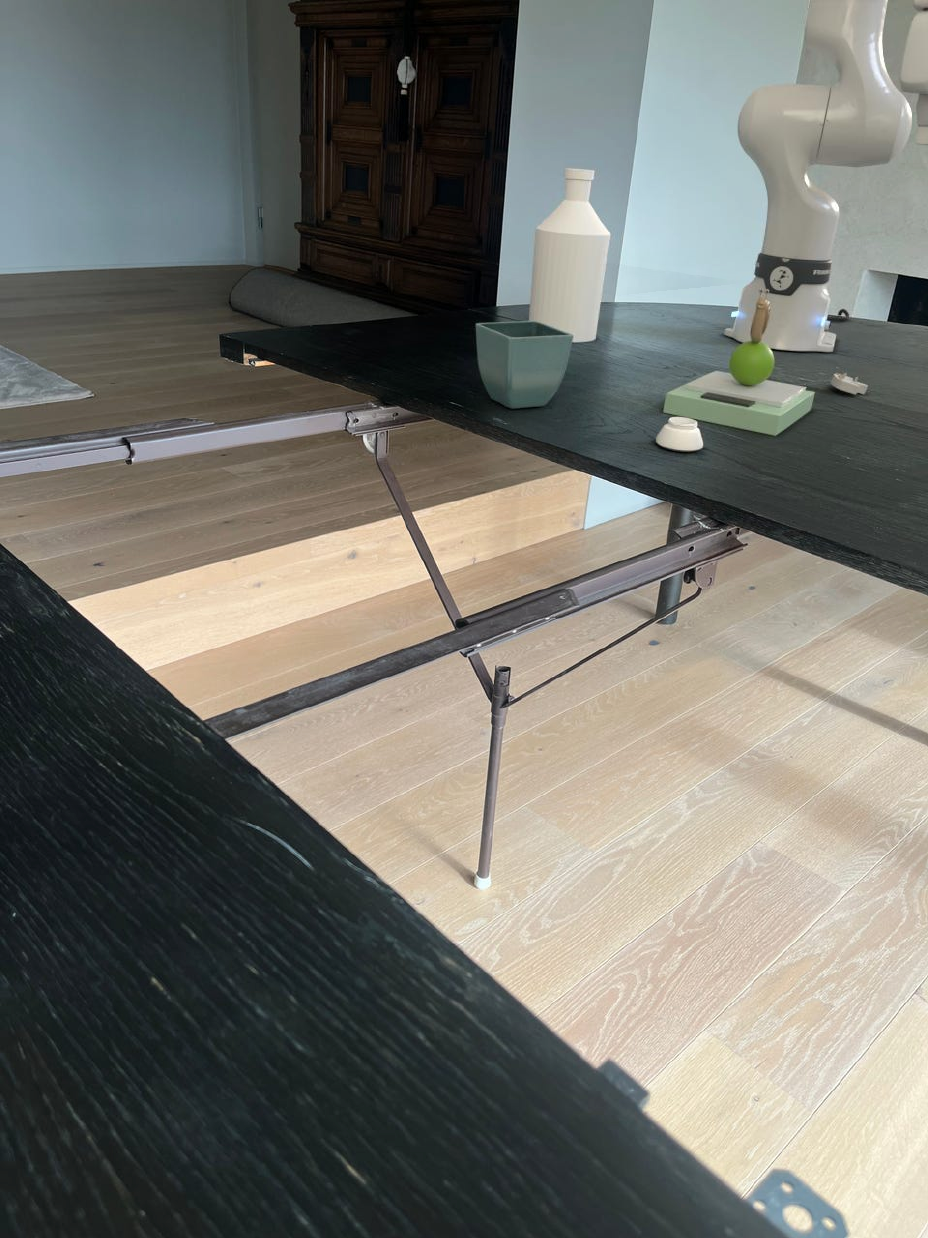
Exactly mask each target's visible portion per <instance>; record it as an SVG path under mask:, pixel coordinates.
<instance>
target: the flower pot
mask: <svg viewBox="0 0 928 1238" xmlns="http://www.w3.org/2000/svg"><path fill="white" fill-rule="evenodd" d="M573 337H574V335H572V334H570V333H567V332H564V331H561V330H559V329H556V328H553V327H551V326H548V325H546V324H543V323H541V322H537V321H529V320H522V321H521V320H520V321H519V320H518V321H499V322H497V321H496V322H477V323H475V339H476V355H477V365H478V369H479V370H478V371H479V374H480V377H481V380H482V383H483V386H484V388H485V390H486V391H487V393H488V395H489V397H490V399H491V400H493V401H495V402H497V403H499V404H500V405H502V406H504V407H507V409H510V410H515V409H524V408H526V409H527V408H540V407H545V406H546V405H547V404H548V403H549V402H550V401H551V400H552V398H553V397H554V396H555V394H556V393H557V391H558V389H559V388H560V386H561V384H562V382H563V379H564V377H565V374H566V369H567V366H568V362H569V357H570V353H571V348H572V345H573V342H572V341H573Z"/></svg>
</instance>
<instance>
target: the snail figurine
mask: <svg viewBox="0 0 928 1238" xmlns="http://www.w3.org/2000/svg"><path fill="white" fill-rule="evenodd" d="M764 292H765V294H766V295H767V294H768V293H769V290H768V289H766V290H765V291H764ZM759 293H760V295H761V293H763V289H762V288H761V289H759ZM769 316H770V302H769V301H768V300H767V299H766V296H765V299H764V298H761V299H760V297H759V300H758V301H757V303H756V311H755V314H754V318H753V322H752V326H751V331H750V335H751V340H752V341H748V342H745V343H743V342H741V344H739V345H738V346H737V347H736V348H735V349H734V350H733V351H732V353H731V354H730V357H729V361H728V362H729V363H728V368H729V373H731V375H732V376H733V378H734V379H735V380H736V381H737V382H739V383H741V384H743V385H748V386H753V385H757V384H760V383H762V382H764V381H765V380H768V378H769V377H770V376H771V375H772V373H773V370H774V369H775V356H774V353H773V350H772V349H771V348H769V347H768V346H767V345H766V344H764V343H762V342H761V340H762V336H763V334H764V332H765V330H766V328H767V325H768V321H769Z"/></svg>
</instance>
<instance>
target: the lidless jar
mask: <svg viewBox="0 0 928 1238" xmlns="http://www.w3.org/2000/svg"><path fill="white" fill-rule="evenodd" d="M667 422H668V423H666V424H664V425H663V426H662V428H661V429H660V431H659V432H658V434H657V435H656V438H655V443H657V444H658V445H659V446H661V447H662V448H665V449H666V450H669V451H672V452H680V453H692V452H696V451H699V450H701V449H703V448H704V442H703V438H702V434H701V431H700V430H701V429H700V428H698V421H697V420H696V419H692V418H687V417H683V416H673V417H672V416H671V417H669V418H668V420H667Z"/></svg>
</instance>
